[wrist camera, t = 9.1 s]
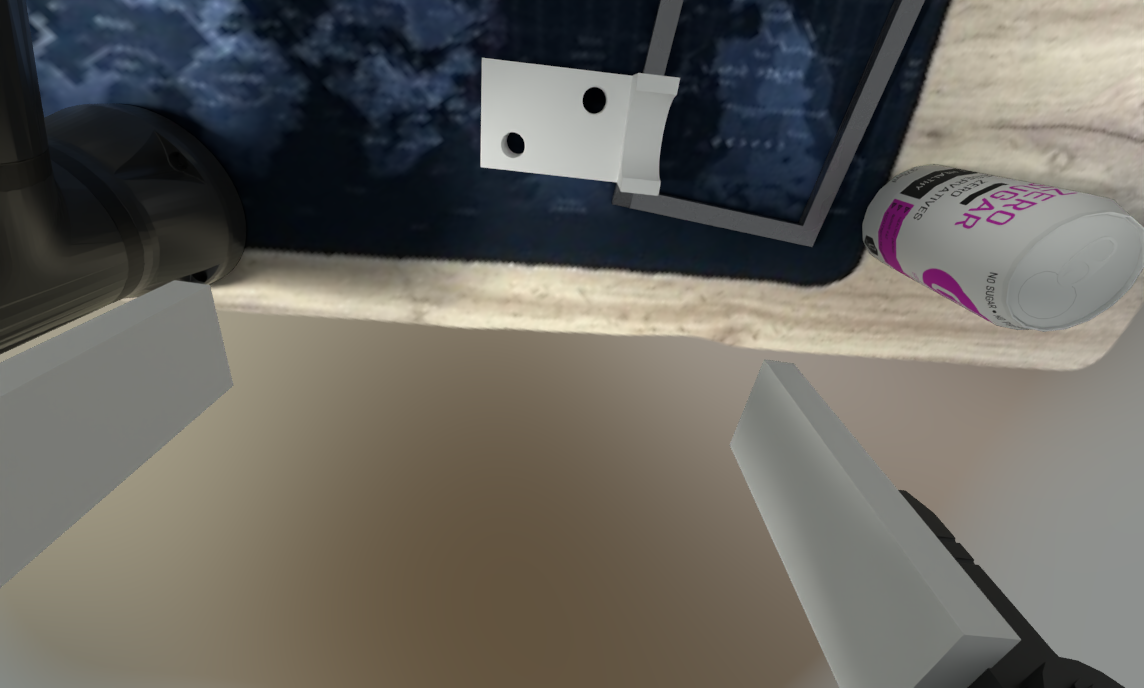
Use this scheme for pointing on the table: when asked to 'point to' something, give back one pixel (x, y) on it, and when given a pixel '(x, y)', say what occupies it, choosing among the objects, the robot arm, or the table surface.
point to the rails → (837, 160)
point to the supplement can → (1006, 245)
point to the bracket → (575, 123)
